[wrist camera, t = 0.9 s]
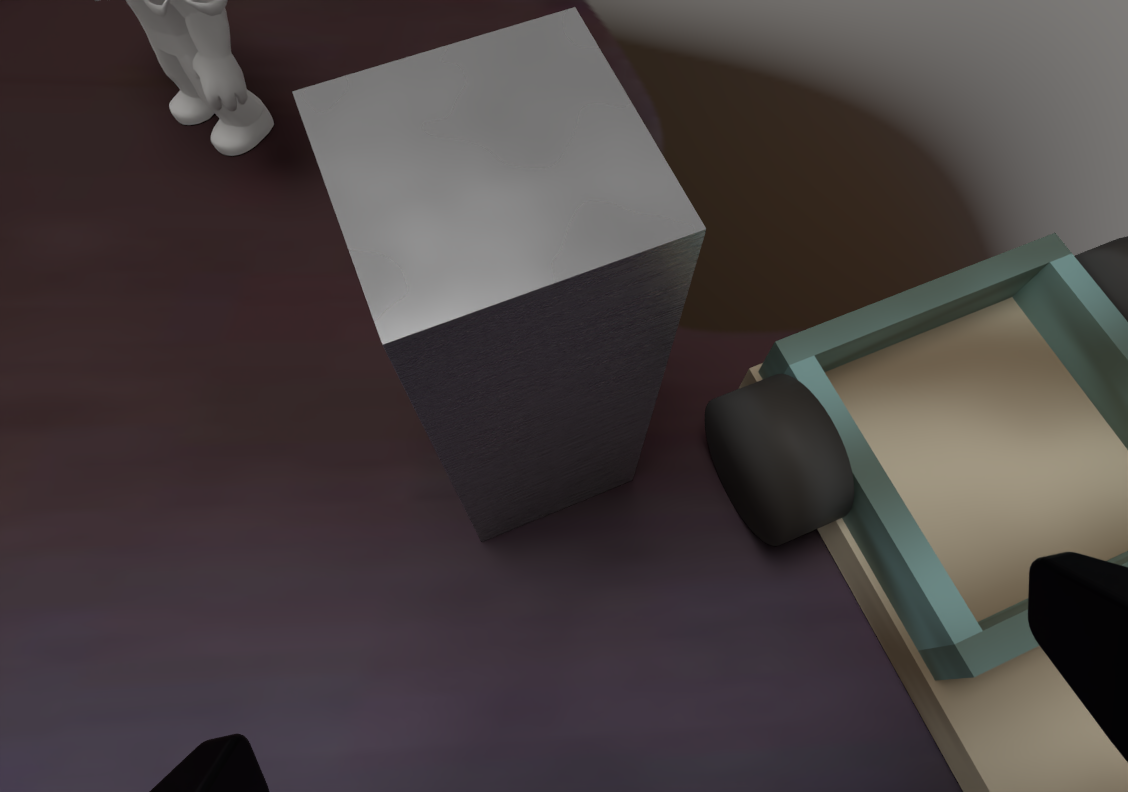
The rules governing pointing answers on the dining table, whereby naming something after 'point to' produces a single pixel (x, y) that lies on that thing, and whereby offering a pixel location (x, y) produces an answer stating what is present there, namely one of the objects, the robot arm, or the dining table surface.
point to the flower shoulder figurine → (204, 70)
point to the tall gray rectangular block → (512, 256)
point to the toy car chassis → (956, 487)
